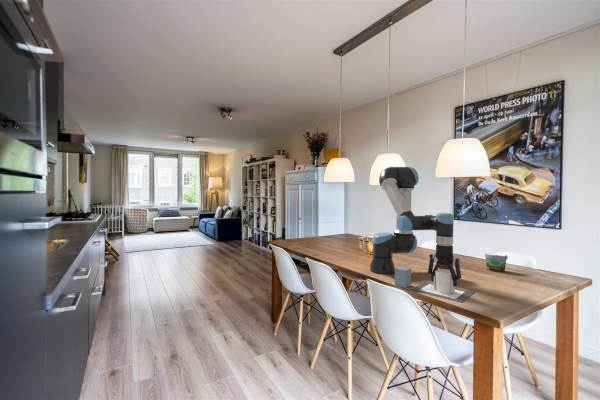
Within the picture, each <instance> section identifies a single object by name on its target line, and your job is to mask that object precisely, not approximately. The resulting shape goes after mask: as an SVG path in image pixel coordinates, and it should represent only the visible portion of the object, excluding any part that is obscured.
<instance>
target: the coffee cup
mask: <svg viewBox="0 0 600 400" xmlns="http://www.w3.org/2000/svg"><path fill="white" fill-rule="evenodd" d="M451 262H452V266H453V267H454V260H452V261H451ZM438 269H446V270H449V268H448V266H447V264H444V263H441V264H440V266H439V268H438Z"/></svg>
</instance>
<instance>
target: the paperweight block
mask: <svg viewBox="0 0 600 400" xmlns="http://www.w3.org/2000/svg"><path fill="white" fill-rule="evenodd" d="M394 286H397V287H401V288H404V287H405V289H406V288H408V287H410V286H412V267H406V266H398V267H395V272H394Z"/></svg>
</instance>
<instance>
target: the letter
mask: <svg viewBox="0 0 600 400" xmlns="http://www.w3.org/2000/svg"><path fill="white" fill-rule="evenodd" d="M433 288H434V285H433V284H429V285H427V286H425V287H423V288H421V289H420V290H422V291H426V292H430V293H434V294H438V295H442V296H446V297H450V298H454V299H456V298H457V297H459V296H460V295H461V294H463V293H464V291H459V290H455V292H454V293H441V292H438V291H437V290H436V289H433Z"/></svg>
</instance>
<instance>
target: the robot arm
mask: <svg viewBox="0 0 600 400" xmlns="http://www.w3.org/2000/svg"><path fill="white" fill-rule="evenodd" d="M378 178H379V179H378V181H379V182H378V183H379V186H380V188H381V189H382V190H384V192H385V194H386V195H387V198H388V200H389V201H390V204H391V206H392V207H393V210H394V211H395V214H396V223H395V224H396V225H395V228H396V229H394V230H393V233H392V232H378V233H376V234H373V236H372V260H371V263H370V265H369V271H370V272H372V273H375V274H381V275H388V274H390V275H391V274H395V268H396V267H395V263H394V260H393V254H394V255H395V254H396V255H397V254H411V253H413V252H415V250H416V249H417V247H418V239H417V236H416V235H415V234H414V231H434V232H435V243H436V244H435V253H434V254H433V253H431V254H429V255H428V256H429V263H428V270H427V273H428V274H430V275H431V281H432V282H431V283H434V288H433V289H436V274H435V270H436V271H437V270H438V269H439V266H440V264H441V263H444V264H447V266H448V268H449V270H450V273H451V275H452V278H453V279H451V293H454V292H455V288H456V287H457V286H458V280H460V279H462V273H461V265H460V262H461V261H460V260H461V258H459V257H455V256H454V246H453V244H454V214H452V213H450V212H439V213H438V212H437V213H436V215H432V214H424V215H415V214H414V213H413V211H412V191H413V190H414V189H415V186H417V185H418V183H419V173H418V171H417V170H416V168H415V167H411V166H389V167H386V168H384V169H383V170H382V171H381V173H380V175H379V177H378ZM435 258H436V260H437V261H436V263H435ZM452 260H453V263H454V265H453V266H452V262H451V261H452ZM434 263H435V266H434ZM454 267H455V269H454Z"/></svg>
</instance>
